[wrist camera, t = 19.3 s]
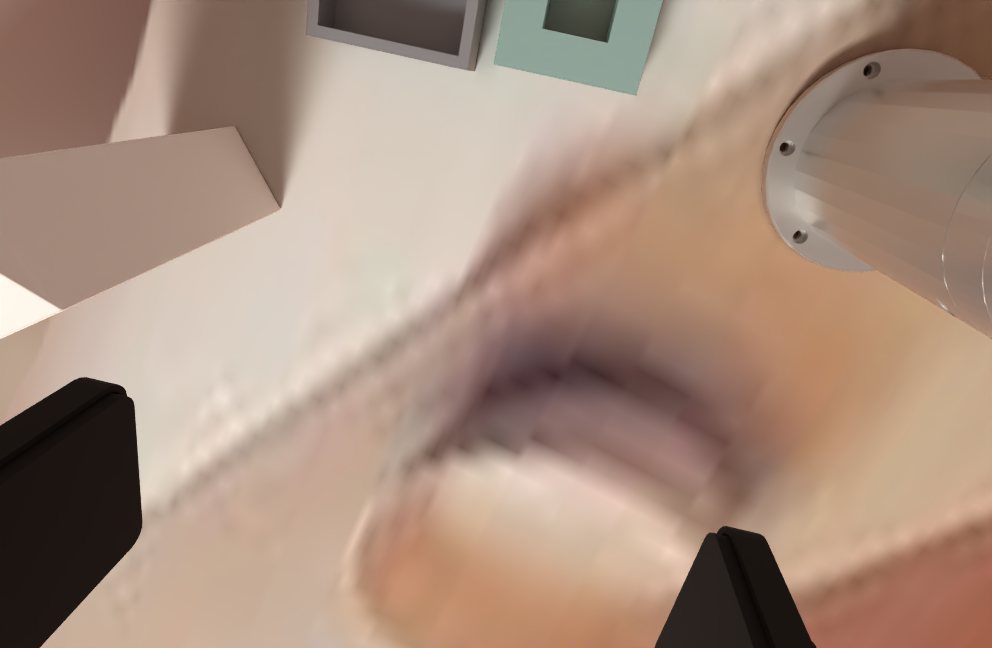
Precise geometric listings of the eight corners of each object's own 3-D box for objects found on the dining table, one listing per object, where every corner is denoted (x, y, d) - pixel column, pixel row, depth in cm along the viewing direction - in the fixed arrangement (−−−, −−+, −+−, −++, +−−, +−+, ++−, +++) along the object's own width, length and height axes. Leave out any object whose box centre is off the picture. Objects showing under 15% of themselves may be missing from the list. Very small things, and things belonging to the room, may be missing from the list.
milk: (282, 209, 39) (-8, 349, 19) (211, 241, 41) (-127, 402, 21) (234, 122, 37) (-147, 176, 17) (161, 159, 39) (-268, 249, 19)
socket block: (673, -63, 31) (684, -77, 28) (630, 94, 34) (636, 95, 31) (528, -94, 31) (525, -111, 28) (499, 65, 34) (493, 63, 31)
